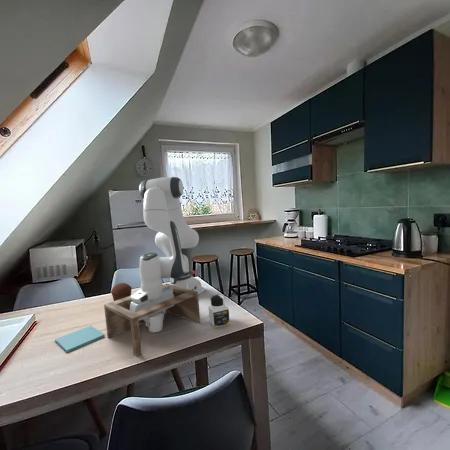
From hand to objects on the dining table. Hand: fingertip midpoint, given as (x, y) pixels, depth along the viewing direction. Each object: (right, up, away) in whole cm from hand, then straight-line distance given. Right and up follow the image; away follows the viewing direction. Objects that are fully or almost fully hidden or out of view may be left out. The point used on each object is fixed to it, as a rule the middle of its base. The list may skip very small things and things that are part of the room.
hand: (155, 322), depth 109 cm
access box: (0, -3, 0) cm, 3 cm away
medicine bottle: (+28, -1, +3) cm, 28 cm away
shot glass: (0, -3, 0) cm, 3 cm away
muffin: (-29, -2, +38) cm, 48 cm away
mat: (-30, -5, -4) cm, 31 cm away
